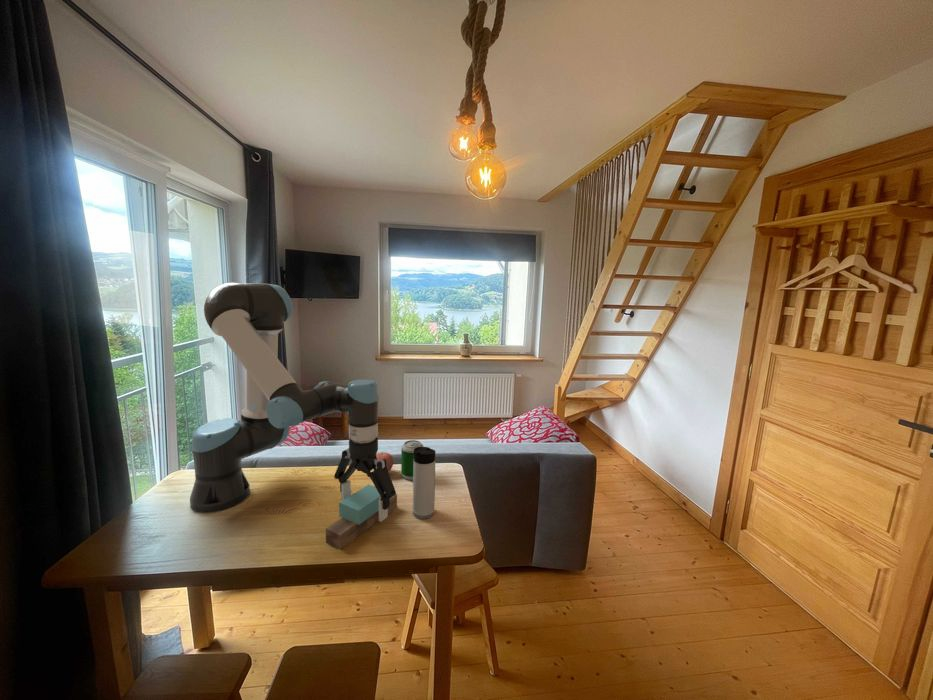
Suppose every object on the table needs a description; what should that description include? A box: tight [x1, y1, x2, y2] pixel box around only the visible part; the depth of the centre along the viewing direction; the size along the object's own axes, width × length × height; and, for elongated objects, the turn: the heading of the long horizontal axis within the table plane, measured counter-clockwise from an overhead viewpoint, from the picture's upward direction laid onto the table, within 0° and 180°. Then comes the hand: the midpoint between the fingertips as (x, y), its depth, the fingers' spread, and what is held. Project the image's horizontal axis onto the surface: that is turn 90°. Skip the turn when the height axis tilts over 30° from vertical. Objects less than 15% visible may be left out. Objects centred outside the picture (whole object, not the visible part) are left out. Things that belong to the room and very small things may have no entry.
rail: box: [325, 493, 398, 551], centre depth 104 cm, size 5×22×4 cm, turn 151°
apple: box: [372, 451, 395, 473], centre depth 132 cm, size 7×7×8 cm
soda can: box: [400, 439, 425, 481], centre depth 130 cm, size 8×8×12 cm
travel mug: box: [412, 446, 436, 520], centre depth 108 cm, size 6×7×20 cm
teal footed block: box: [338, 484, 385, 525], centre depth 103 cm, size 7×11×8 cm, turn 151°
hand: (364, 511), depth 104 cm, fingers open, 13 cm apart
